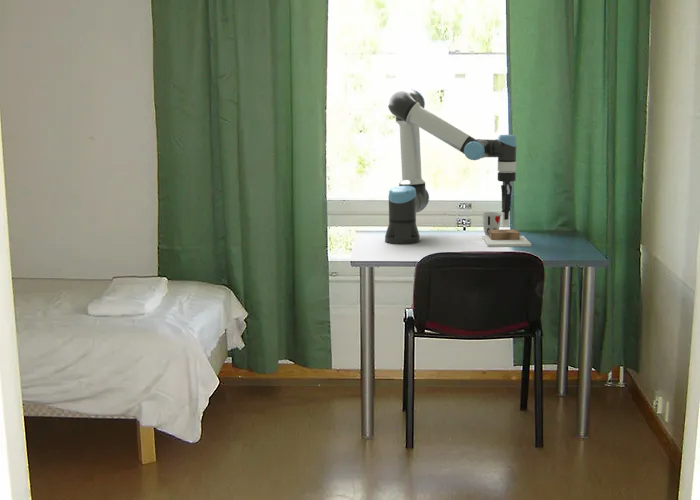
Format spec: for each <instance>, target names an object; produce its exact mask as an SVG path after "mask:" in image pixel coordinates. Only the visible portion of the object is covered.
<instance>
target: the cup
mask: <svg viewBox="0 0 700 500" xmlns="http://www.w3.org/2000/svg"><path fill="white" fill-rule="evenodd" d="M481 214H482V215H481V216H482V227H483V231H484V232H483V233H484V235H485V236H486V235H487V236H489V230H500V226H501V217H502V216H501V215H502V213H501V212H495V211H488V212H487V211H486V212H482V213H481Z"/></svg>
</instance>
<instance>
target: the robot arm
mask: <svg viewBox="0 0 700 500" xmlns="http://www.w3.org/2000/svg"><path fill="white" fill-rule="evenodd" d="M425 105H426V103H425V98H424V96H423V95H422V93H420V91H417V90H415V89H412V88H411V89H410V88H409V89H397V90H395V91H394V92H392V93H391V94H390V95H389V98H388V101H387V107H388V108H387V109H388V110H389V112H390V113H391V114H392V115H394V116H395V123H396V124H398V125H399V138H400V142H399V143H400V161H401V178H402V179H401V180H400V182H399V183H398V186H394V187H391V188H390V189H389V190H388V196H387V197H388V198H387V199H388V226H387V229H386V232H385V235H384V242H386V243H389V244H398V245H400V244H401V245H409V244H417V243H419V242H420V241H421V235H420V232H419V229H418V226H417V213H419V212H421V211H423V210H424V209H426V207H427V206H428V204H429V201H430V194H429V192H428V189H426V181H425V180H423V178H422V160H421V159H422V158H421V137H420V129H422V130H423V131H425V132H426V133H429V134H430V135H432V136H434V137H435V138H437V139H438V140H441V141H442V142H444V143H445V144H447V145H449V146H450V147H452V148H454V149H455V150H457V151H459V152H460V153H462V154H463V155H464V156H465V157H466V158H467V159H468V160H470V161H477V160H480V159H484V158H497V171H498V172H497V181H498V182H502V184H501V185H500V187H501V188H500V189H501V212H502V213H501V215H502V216H501V217H502V219H501V221H502V223H501V224H502V225H501V227H502V228H509V227H510V212H511V203H512V189H513V188H512V187H513V186H512V185H511V182H516V178H517V175H516V174H517V173H516V170H517V169H516V168H517V166H518V163H517V146H518V145H517V137H516V135H514V134H500V135H498V137H497V138H496V139H480V138H478V139H476V138H474V137H472V136H471V135H469V134H468V133H466V132H464V131H462V130H460V129H459V128H457V127H455V126H454V125H452V124H451V123H450V122H448V121H445V120H444V119H442V118H441V117H439V116H438V115H436V114H434V113H432V112H430V111H429V110H427V109H425Z"/></svg>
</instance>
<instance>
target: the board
mask: <svg viewBox="0 0 700 500" xmlns="http://www.w3.org/2000/svg"><path fill="white" fill-rule="evenodd" d="M520 236H521V235H520V232H519V230H517V229H510V228H509V229H508V228H507V229H499V230H489V238H490V239H491V240H520Z"/></svg>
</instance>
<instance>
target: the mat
mask: <svg viewBox="0 0 700 500" xmlns="http://www.w3.org/2000/svg"><path fill="white" fill-rule="evenodd" d="M481 239H482V240H484V241H483V242H484V243H485V245H486V246H487V248H488V247H489V248H490V247H491V248H492V247H493V248H494V247H496V248H497V247H499V248H500V247H502V248H503V247H506V248H507V247H508V248H509V247H532V246H533V245H532V243H531V242H530V241H529V240H528V239H527V238H526V237H525V236H524V235H520V240H491V239H490V238H489V236H486V235H485V236H484V235H482V236H481Z"/></svg>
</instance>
